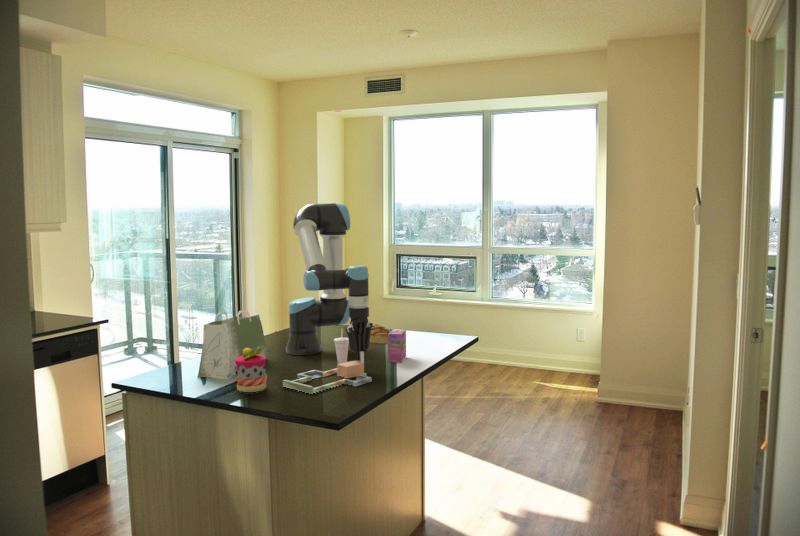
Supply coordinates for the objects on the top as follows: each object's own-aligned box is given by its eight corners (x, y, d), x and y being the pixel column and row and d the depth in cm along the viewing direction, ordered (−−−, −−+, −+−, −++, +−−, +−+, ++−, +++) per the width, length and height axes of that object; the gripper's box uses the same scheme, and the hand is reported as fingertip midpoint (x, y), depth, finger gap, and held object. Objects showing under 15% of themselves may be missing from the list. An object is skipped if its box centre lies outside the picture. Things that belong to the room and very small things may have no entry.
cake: (229, 391, 209) (227, 348, 208) (247, 383, 219) (246, 342, 218) (255, 394, 205) (254, 350, 204) (273, 386, 215) (271, 344, 214)
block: (337, 375, 229) (336, 364, 228) (354, 372, 234) (354, 360, 233) (346, 379, 224) (346, 366, 224) (364, 375, 229) (363, 363, 229)
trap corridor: (329, 369, 238) (329, 363, 237) (377, 379, 222) (376, 372, 221) (273, 384, 217) (273, 378, 217) (321, 397, 201) (321, 390, 201)
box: (401, 362, 246) (401, 333, 245) (387, 362, 247) (387, 333, 246) (406, 357, 256) (406, 329, 255) (393, 356, 258) (392, 328, 257)
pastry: (375, 336, 301) (375, 320, 300) (400, 340, 292) (400, 323, 292) (358, 341, 290) (358, 325, 289) (384, 345, 281) (383, 328, 281)
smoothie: (337, 365, 244) (336, 330, 243) (331, 361, 250) (331, 327, 249) (352, 363, 247) (351, 328, 246) (346, 359, 253) (345, 326, 252)
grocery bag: (237, 358, 260) (235, 303, 258) (268, 359, 256) (266, 304, 254) (196, 377, 229) (193, 316, 227) (229, 379, 225) (227, 317, 223)
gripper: (354, 309, 223) (355, 373, 225) (377, 305, 233) (378, 366, 235) (339, 308, 228) (341, 370, 230) (363, 303, 238) (364, 363, 240)
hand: (360, 368), depth 233 cm, fingers closed
